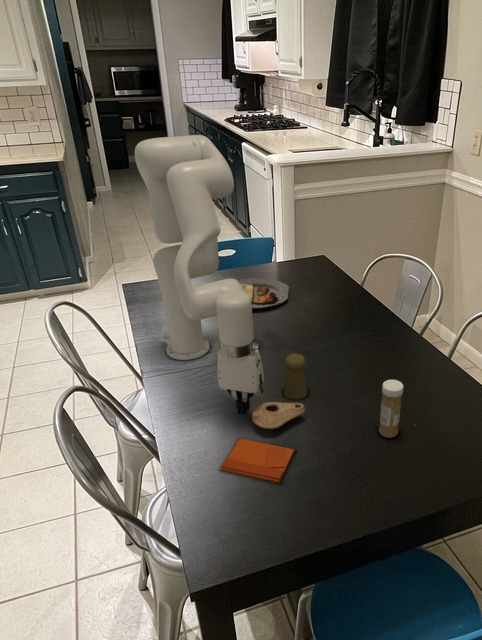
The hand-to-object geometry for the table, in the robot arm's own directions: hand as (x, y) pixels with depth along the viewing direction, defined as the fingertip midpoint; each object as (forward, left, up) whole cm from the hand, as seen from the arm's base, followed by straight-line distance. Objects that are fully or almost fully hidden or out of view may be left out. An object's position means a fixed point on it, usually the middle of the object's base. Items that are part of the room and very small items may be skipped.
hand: (243, 411), depth 121 cm
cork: (+9, +13, -2) cm, 16 cm away
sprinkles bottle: (+35, +4, -2) cm, 35 cm away
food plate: (-22, +65, -2) cm, 69 cm away
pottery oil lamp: (+9, 0, -2) cm, 9 cm away
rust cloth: (+9, -14, -2) cm, 16 cm away
